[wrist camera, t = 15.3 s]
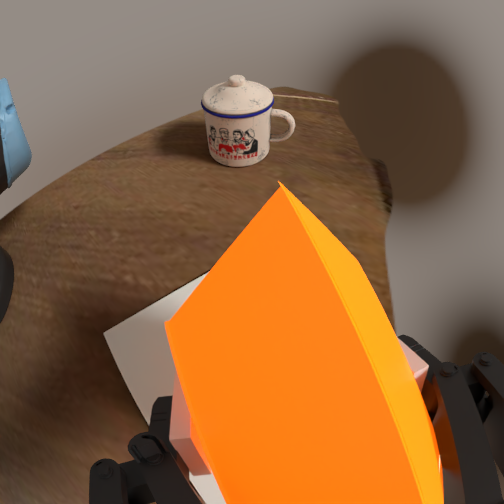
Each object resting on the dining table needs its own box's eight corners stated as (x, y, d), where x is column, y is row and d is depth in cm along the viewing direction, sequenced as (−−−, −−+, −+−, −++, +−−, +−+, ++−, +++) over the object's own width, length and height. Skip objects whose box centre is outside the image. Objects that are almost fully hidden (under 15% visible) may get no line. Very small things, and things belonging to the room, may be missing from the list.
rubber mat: (105, 334, 26) (103, 332, 25) (280, 233, 32) (281, 230, 31) (257, 555, 14) (257, 558, 14) (434, 427, 20) (437, 427, 20)
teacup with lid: (199, 165, 37) (186, 92, 27) (218, 127, 42) (212, 63, 32) (286, 177, 36) (295, 101, 26) (294, 137, 40) (302, 70, 30)
